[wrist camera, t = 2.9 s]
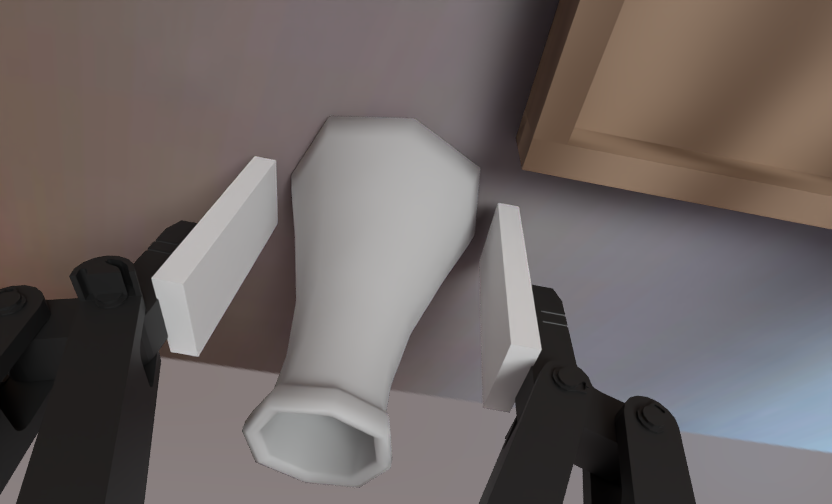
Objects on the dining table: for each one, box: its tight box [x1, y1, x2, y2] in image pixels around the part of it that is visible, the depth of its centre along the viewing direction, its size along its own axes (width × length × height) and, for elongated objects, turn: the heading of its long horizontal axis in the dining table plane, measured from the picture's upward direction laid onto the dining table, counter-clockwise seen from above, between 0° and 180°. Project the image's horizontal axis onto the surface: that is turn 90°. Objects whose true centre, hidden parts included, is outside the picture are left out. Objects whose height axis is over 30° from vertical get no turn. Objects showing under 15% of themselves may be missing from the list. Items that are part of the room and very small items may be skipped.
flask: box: [242, 116, 481, 488], centre depth 13 cm, size 7×7×10 cm
